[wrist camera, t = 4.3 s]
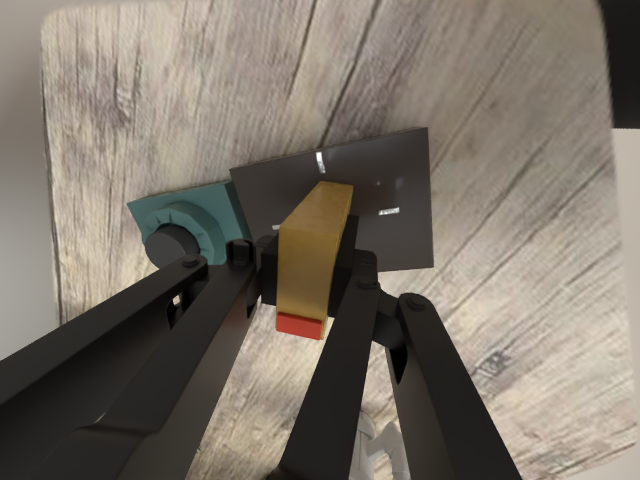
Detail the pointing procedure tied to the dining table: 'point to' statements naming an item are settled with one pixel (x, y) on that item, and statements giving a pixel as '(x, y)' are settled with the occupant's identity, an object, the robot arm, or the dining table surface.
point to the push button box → (196, 216)
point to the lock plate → (353, 193)
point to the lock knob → (310, 259)
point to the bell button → (170, 245)
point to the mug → (377, 450)
